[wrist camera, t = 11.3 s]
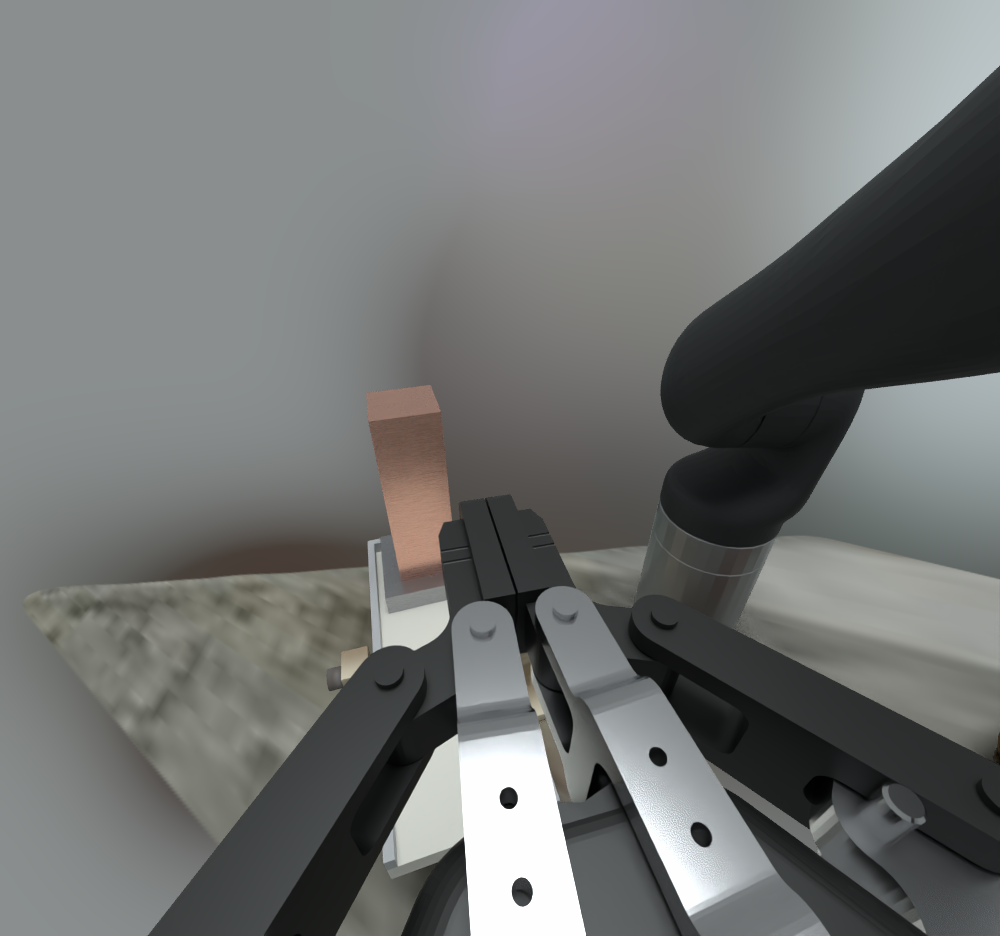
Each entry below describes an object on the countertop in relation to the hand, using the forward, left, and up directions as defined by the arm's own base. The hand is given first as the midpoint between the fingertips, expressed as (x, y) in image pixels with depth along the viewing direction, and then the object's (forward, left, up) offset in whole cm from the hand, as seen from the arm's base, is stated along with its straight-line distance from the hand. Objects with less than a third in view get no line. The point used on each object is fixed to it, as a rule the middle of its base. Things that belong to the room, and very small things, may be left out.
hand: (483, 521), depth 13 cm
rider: (-9, -19, -23) cm, 31 cm away
